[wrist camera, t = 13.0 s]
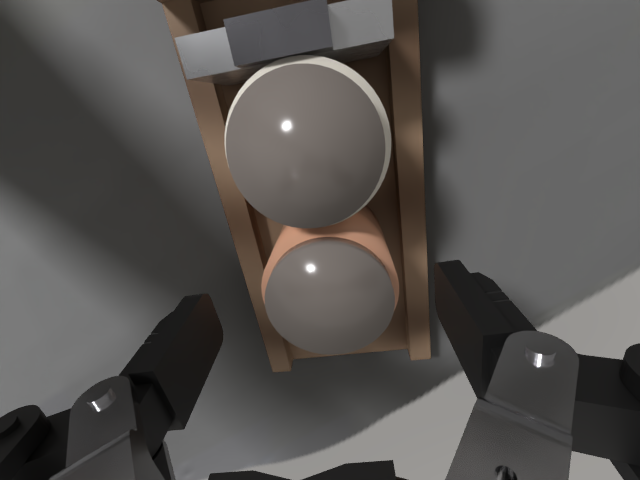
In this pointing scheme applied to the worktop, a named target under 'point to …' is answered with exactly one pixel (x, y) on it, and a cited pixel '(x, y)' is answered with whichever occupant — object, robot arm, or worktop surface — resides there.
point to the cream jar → (307, 141)
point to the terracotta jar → (331, 285)
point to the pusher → (287, 38)
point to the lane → (387, 204)
